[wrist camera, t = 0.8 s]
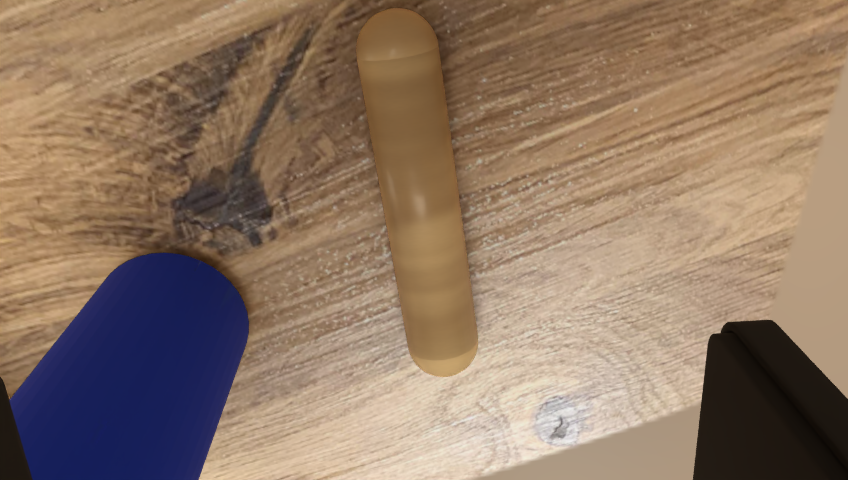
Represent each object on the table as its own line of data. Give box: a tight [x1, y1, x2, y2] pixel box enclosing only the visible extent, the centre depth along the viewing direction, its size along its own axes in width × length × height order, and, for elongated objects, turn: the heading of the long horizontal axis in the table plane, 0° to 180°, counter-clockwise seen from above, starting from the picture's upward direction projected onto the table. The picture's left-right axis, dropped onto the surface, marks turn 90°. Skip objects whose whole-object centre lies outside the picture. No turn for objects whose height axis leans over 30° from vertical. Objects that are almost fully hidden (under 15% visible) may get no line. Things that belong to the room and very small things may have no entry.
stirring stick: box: [356, 8, 478, 377], centre depth 24 cm, size 12×2×2 cm, turn 8°
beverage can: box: [9, 253, 249, 480], centre depth 20 cm, size 5×5×15 cm
